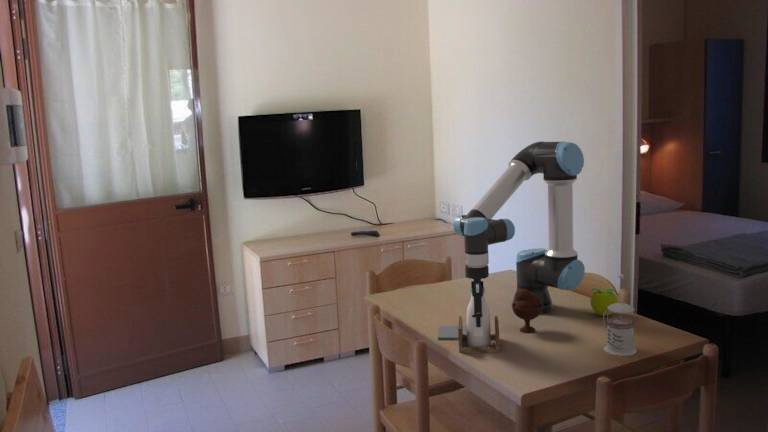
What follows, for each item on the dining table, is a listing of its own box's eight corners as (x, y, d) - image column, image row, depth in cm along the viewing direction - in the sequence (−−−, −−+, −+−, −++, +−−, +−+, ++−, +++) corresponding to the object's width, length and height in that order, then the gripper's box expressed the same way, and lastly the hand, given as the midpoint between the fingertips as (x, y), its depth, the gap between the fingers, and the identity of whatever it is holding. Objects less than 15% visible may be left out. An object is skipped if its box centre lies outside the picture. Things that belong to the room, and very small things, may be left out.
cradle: (498, 338, 218) (497, 315, 216) (499, 352, 205) (498, 328, 204) (459, 338, 220) (459, 315, 218) (459, 352, 207) (458, 328, 206)
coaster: (473, 327, 229) (472, 325, 229) (473, 339, 218) (472, 337, 217) (439, 327, 231) (439, 325, 231) (437, 339, 219) (437, 337, 219)
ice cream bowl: (526, 338, 216) (525, 295, 214) (505, 329, 226) (504, 288, 224) (550, 332, 221) (549, 290, 219) (528, 323, 231) (528, 283, 228)
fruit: (589, 310, 241) (589, 285, 240) (614, 311, 239) (615, 285, 238) (591, 318, 233) (591, 292, 231) (618, 319, 231) (618, 292, 229)
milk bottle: (490, 349, 208) (488, 290, 205) (466, 349, 209) (464, 290, 206) (491, 341, 215) (489, 284, 212) (468, 340, 217) (466, 284, 214)
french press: (619, 358, 196) (620, 279, 192) (593, 346, 206) (593, 271, 202) (643, 351, 200) (645, 274, 196) (616, 340, 210) (617, 267, 206)
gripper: (465, 257, 220) (467, 318, 223) (464, 274, 197) (466, 342, 201) (487, 256, 218) (489, 318, 222) (489, 273, 196) (490, 342, 200)
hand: (478, 330), depth 212 cm, fingers open, 10 cm apart
